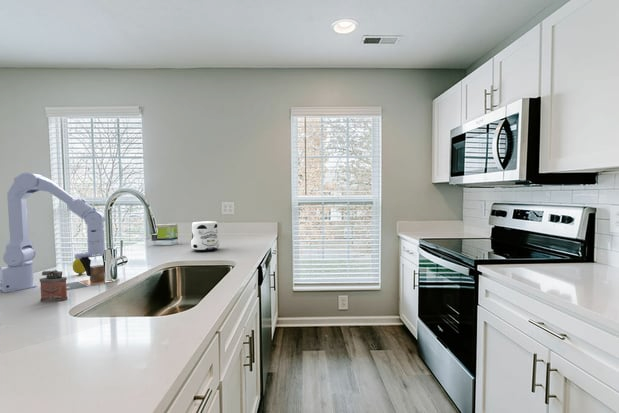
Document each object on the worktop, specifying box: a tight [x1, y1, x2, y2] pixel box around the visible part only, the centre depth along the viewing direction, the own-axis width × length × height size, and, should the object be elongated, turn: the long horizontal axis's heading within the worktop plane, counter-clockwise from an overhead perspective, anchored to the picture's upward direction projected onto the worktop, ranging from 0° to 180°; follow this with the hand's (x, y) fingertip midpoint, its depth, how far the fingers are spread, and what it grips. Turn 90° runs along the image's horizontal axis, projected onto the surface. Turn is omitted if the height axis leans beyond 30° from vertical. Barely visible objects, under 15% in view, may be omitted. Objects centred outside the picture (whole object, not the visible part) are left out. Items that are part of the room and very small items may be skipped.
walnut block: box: [89, 264, 106, 283], centre depth 131 cm, size 4×4×6 cm
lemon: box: [72, 259, 86, 275], centre depth 143 cm, size 6×6×8 cm
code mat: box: [39, 281, 89, 291], centre depth 123 cm, size 12×12×1 cm
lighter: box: [39, 269, 69, 303], centre depth 107 cm, size 8×3×10 cm, turn 92°
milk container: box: [190, 220, 220, 252], centre depth 206 cm, size 17×17×18 cm
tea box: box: [151, 223, 179, 246], centre depth 235 cm, size 15×10×15 cm, turn 84°
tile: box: [79, 278, 116, 287], centre depth 131 cm, size 9×11×1 cm
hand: (97, 274), depth 131 cm, fingers open, 5 cm apart
